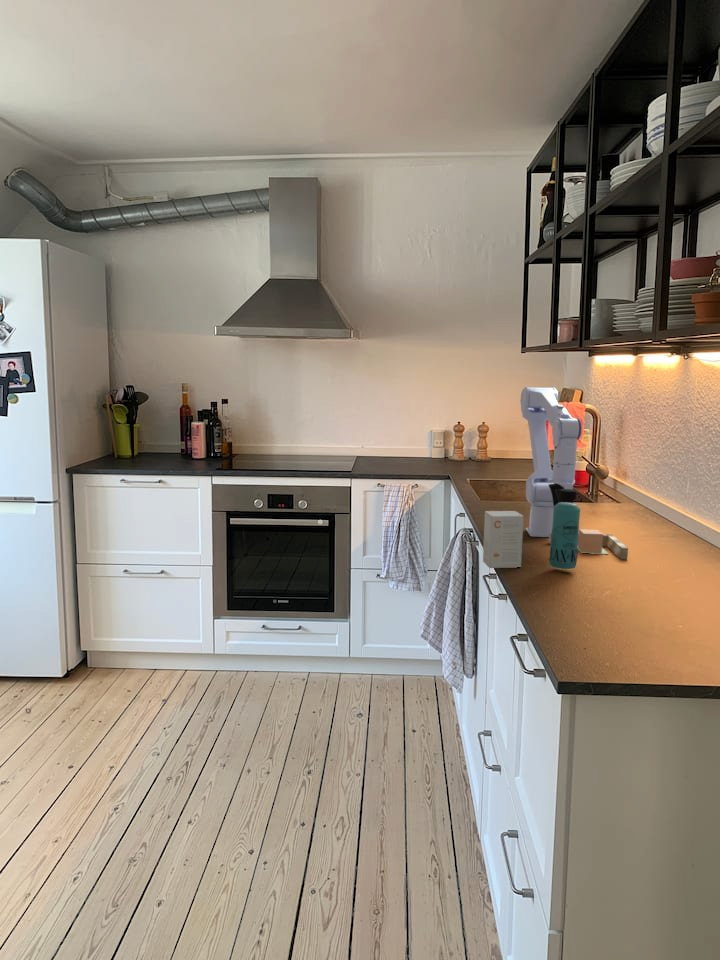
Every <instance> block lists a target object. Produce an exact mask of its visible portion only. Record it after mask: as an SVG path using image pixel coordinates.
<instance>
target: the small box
mask: <svg viewBox="0 0 720 960" xmlns="http://www.w3.org/2000/svg"><path fill="white" fill-rule="evenodd" d="M524 517H525V516H524V515H523V514H521V513H520V512H518V511H517V510H485V511H484V523H483V524H484V527H483V545H482V546H483V550H482V551H483V552H482V562H483V563H484V564H485V565H486V567H488V568H489V569H502V568H503V569H509V568H512V569H515V568H516V569H517V567H521V568H522V557H523V556H522V555H523V554H522V553H523V538H524V536H523V534H524Z"/></svg>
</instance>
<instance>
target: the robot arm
mask: <svg viewBox="0 0 720 960" xmlns="http://www.w3.org/2000/svg"><path fill="white" fill-rule="evenodd" d="M519 403H520V410H521V414H522V418H524V419H525V420H527V423H528V430H529V439H530V445H531V446H530V447H531V453H532V456H531V457H532V462H533V463H532V465H533V471H534V472H533V473H531V474H530V475H529V476H528V477H527V479H526V481H525V498H526V501H527V502H528V503H529V504H530V510H529V524H528V527H526V528H525V531H527V534H528V535H529V536H530V537H532V538H533V537H534V538H549V532H552V522H553V507H554V506H555V505H556V504H558V503H560V502H568V503H574V501H575V500H565V499H560V498H559V493H560V490H561V489H572V490H574V485H575V484H576V480H575V476H576V461H577V446H578V441H579V440H580V439H581V436H582V432H583V427H582V426H583V425H582V421H581V419H580V418H579V417H572V416H571V414H570V413H569V412H568V410H567V408H566V407H565V406H564V405H563V404H559V391H558V390H557V389H556V387H554V386H553V387H528V386H524V388H522V390H521V394H520V402H519ZM547 421H548V423H549V424H550V426H551V434H552V445H553V446H554V448H553V449H554V450H553V463H552V464H553V466H552V464H551V457H550V450H549V442H548V441H549V440H548V434H547V426H546V422H547ZM578 494H579V491H577V495H578Z"/></svg>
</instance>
